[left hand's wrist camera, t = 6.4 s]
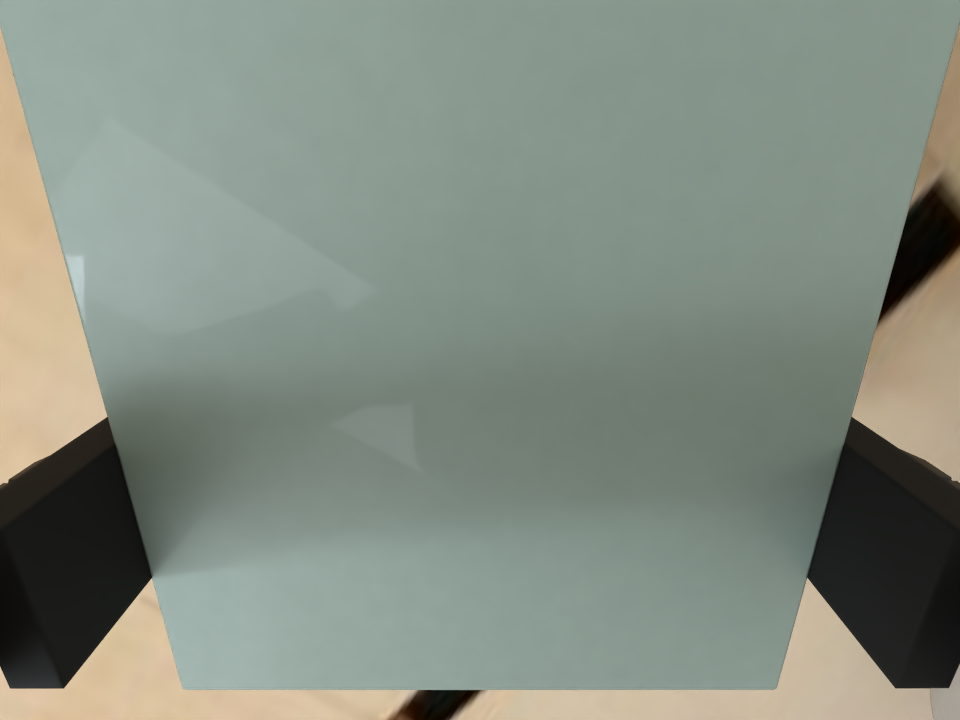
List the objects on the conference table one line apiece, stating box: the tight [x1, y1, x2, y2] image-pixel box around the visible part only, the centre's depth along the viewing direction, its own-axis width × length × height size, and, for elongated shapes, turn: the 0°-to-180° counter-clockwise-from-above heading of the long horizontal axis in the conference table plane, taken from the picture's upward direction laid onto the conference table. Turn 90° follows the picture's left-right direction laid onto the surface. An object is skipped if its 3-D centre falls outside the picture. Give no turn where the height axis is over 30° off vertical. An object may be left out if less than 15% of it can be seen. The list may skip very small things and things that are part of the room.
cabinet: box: [0, 0, 960, 690], centre depth 12 cm, size 20×12×10 cm, turn 0°
